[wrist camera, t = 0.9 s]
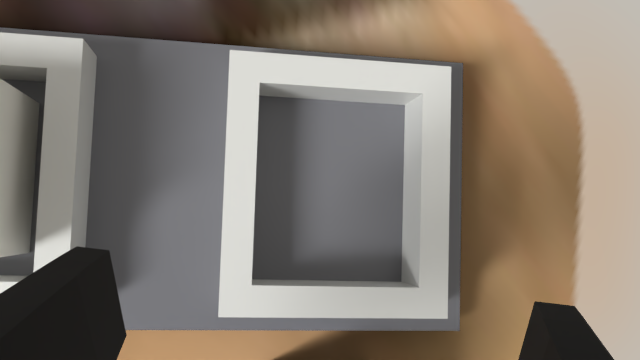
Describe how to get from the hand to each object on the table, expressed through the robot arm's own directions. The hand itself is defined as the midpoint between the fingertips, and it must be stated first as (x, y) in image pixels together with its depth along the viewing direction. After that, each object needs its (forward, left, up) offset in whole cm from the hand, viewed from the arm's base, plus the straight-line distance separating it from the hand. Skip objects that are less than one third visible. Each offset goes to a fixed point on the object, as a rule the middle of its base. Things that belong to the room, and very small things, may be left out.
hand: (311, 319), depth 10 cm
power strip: (+3, +5, -12) cm, 14 cm away
